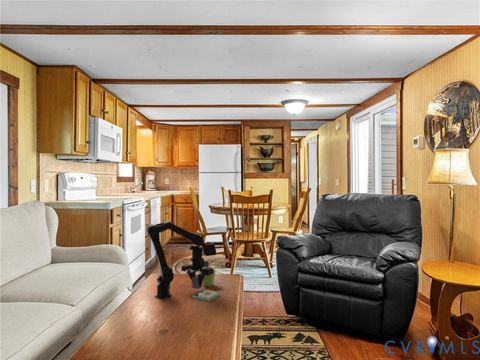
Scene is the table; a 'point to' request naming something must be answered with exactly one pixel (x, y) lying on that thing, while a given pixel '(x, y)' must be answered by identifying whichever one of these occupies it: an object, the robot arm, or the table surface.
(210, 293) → the board
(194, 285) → the plug
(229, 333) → the table surface
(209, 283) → the plant pot
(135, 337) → the table surface
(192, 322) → the table surface
